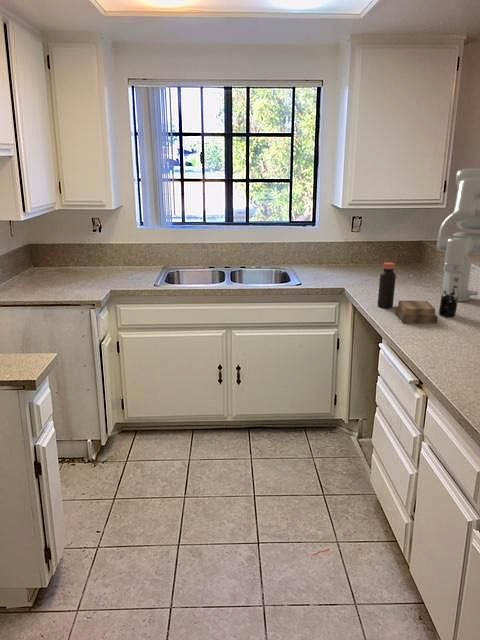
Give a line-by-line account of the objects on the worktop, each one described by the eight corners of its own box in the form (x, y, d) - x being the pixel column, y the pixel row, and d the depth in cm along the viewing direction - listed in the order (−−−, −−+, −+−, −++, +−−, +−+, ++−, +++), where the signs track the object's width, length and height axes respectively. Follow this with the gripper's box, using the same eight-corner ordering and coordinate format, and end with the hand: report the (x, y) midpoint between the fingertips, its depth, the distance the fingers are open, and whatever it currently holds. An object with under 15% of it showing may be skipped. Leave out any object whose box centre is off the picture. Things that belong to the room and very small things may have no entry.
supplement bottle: (445, 318, 220) (448, 291, 217) (435, 313, 227) (438, 287, 223) (459, 317, 222) (462, 289, 218) (448, 312, 228) (452, 286, 225)
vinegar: (382, 309, 233) (386, 265, 227) (374, 304, 239) (378, 262, 233) (395, 307, 235) (400, 264, 228) (387, 303, 241) (391, 261, 235)
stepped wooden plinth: (427, 313, 227) (428, 300, 225) (436, 323, 213) (438, 309, 211) (394, 313, 227) (395, 299, 225) (402, 323, 214) (403, 309, 212)
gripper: (470, 272, 209) (464, 314, 215) (455, 263, 226) (450, 302, 231) (451, 272, 210) (445, 314, 215) (437, 263, 226) (433, 302, 232)
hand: (448, 308), depth 223 cm, fingers closed on supplement bottle, 6 cm apart
